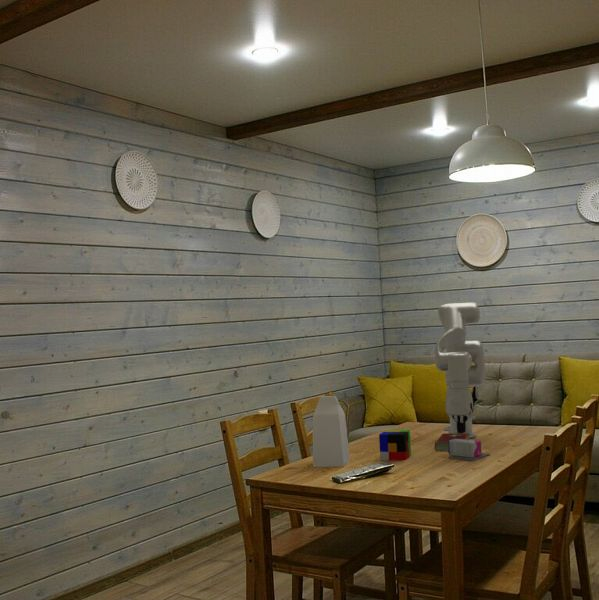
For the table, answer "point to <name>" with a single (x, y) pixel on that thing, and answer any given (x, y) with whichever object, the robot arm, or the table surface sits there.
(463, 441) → the supplement box
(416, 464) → the table surface
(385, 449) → the puzzle toy
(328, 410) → the milk
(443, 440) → the hardcover book
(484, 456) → the mat
